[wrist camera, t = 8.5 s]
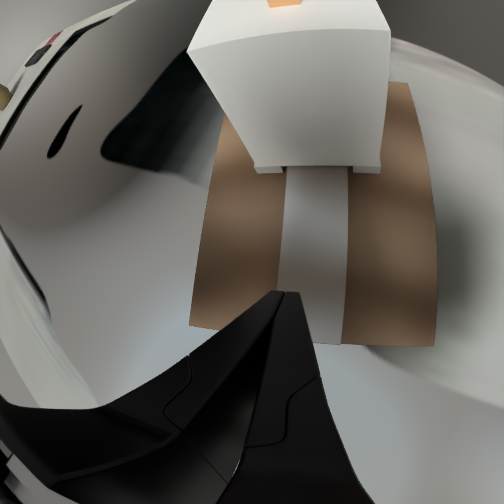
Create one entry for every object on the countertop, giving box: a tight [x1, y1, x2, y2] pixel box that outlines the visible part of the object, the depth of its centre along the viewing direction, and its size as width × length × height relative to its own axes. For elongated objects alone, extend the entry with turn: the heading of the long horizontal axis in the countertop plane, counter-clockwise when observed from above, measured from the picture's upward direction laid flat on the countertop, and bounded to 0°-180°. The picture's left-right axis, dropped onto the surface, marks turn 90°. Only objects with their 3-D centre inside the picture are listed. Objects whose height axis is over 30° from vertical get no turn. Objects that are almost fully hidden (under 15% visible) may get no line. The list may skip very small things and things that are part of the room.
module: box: [187, 0, 391, 174], centre depth 12 cm, size 5×7×11 cm
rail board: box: [189, 82, 437, 346], centre depth 15 cm, size 18×14×4 cm
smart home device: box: [25, 44, 51, 67], centre depth 60 cm, size 8×2×20 cm
